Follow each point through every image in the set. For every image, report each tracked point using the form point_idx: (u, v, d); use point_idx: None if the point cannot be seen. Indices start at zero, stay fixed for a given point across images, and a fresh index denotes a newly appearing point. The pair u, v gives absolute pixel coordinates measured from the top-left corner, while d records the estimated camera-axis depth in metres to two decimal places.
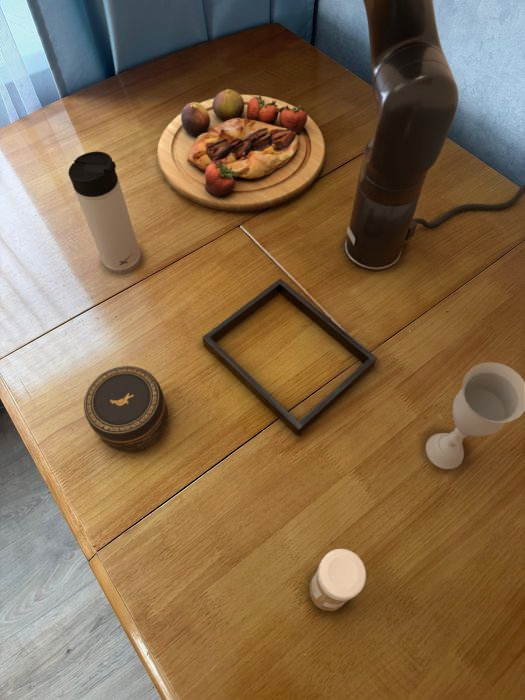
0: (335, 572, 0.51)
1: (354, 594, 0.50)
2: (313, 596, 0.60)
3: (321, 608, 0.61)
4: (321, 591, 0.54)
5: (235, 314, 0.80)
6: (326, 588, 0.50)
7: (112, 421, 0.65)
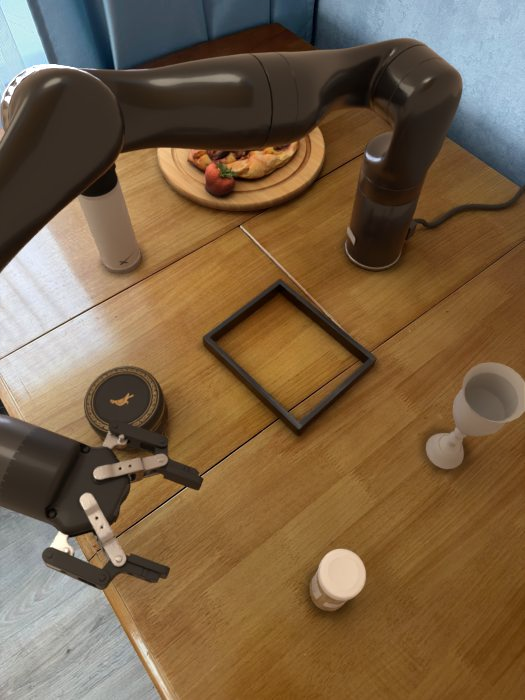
0: (335, 572, 0.51)
1: (354, 594, 0.50)
2: (313, 596, 0.60)
3: (321, 608, 0.61)
4: (321, 591, 0.54)
5: (235, 314, 0.80)
6: (326, 588, 0.50)
7: None
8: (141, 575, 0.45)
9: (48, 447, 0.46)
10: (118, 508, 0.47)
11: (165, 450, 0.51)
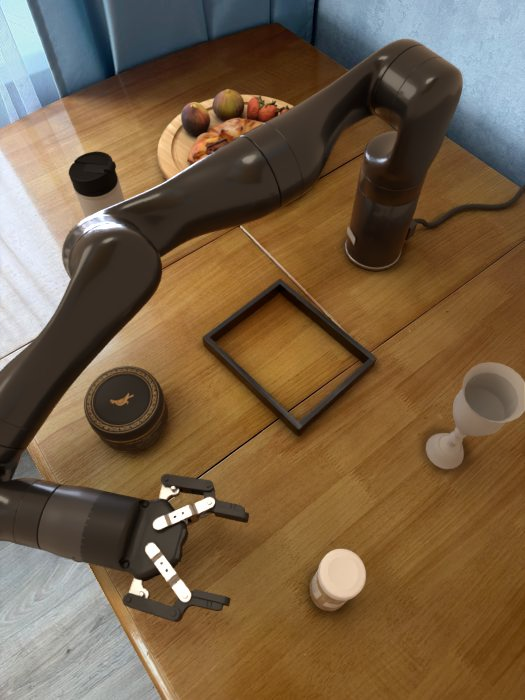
0: (335, 572, 0.51)
1: (354, 594, 0.50)
2: (313, 596, 0.60)
3: (321, 608, 0.61)
4: (321, 591, 0.54)
5: (235, 314, 0.80)
6: (326, 588, 0.50)
7: (112, 421, 0.65)
8: (206, 607, 0.53)
9: (112, 510, 0.55)
10: (179, 551, 0.55)
11: (212, 492, 0.59)
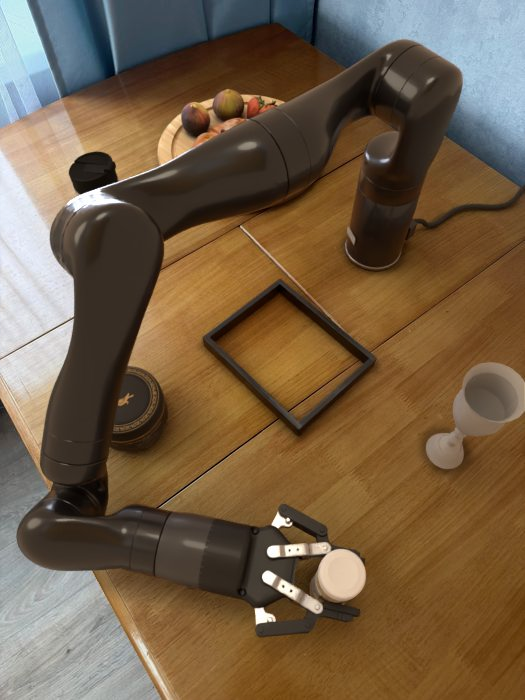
0: (335, 573, 0.51)
1: (354, 594, 0.50)
2: (313, 596, 0.60)
3: None
4: (321, 591, 0.54)
5: (235, 314, 0.80)
6: (326, 588, 0.50)
7: None
8: (338, 618, 0.54)
9: (228, 538, 0.55)
10: (294, 579, 0.55)
11: (326, 537, 0.58)
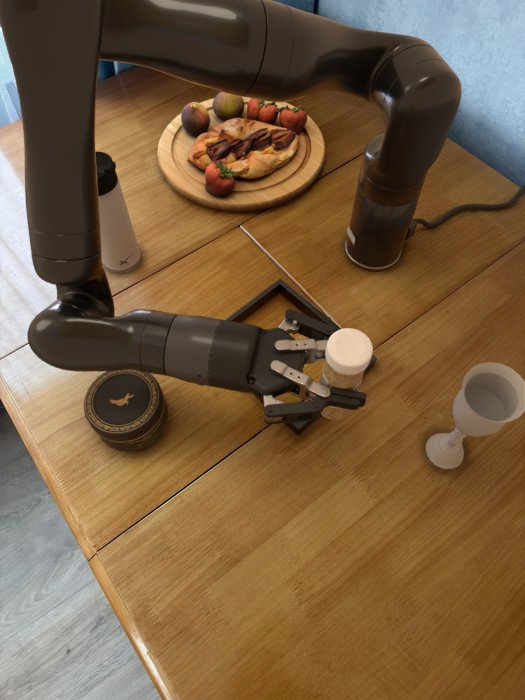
0: (342, 346, 0.52)
1: (361, 363, 0.51)
2: None
3: (327, 417, 0.62)
4: (328, 377, 0.55)
5: (235, 314, 0.80)
6: (334, 359, 0.51)
7: (112, 421, 0.65)
8: (345, 402, 0.55)
9: (236, 329, 0.56)
10: (301, 370, 0.56)
11: None
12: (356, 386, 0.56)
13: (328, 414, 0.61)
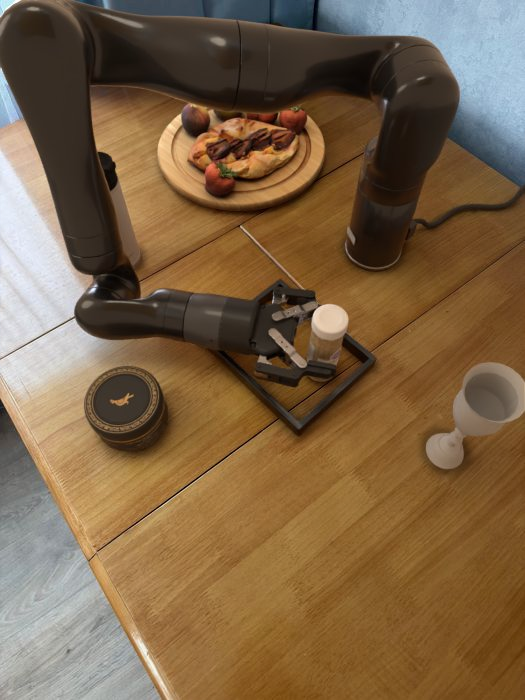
0: (324, 317, 0.66)
1: (339, 330, 0.65)
2: None
3: (314, 379, 0.76)
4: (314, 343, 0.69)
5: None
6: (318, 327, 0.66)
7: (112, 421, 0.65)
8: (319, 372, 0.68)
9: (241, 303, 0.70)
10: (293, 336, 0.70)
11: (314, 299, 0.74)
12: (336, 351, 0.70)
13: (315, 377, 0.76)
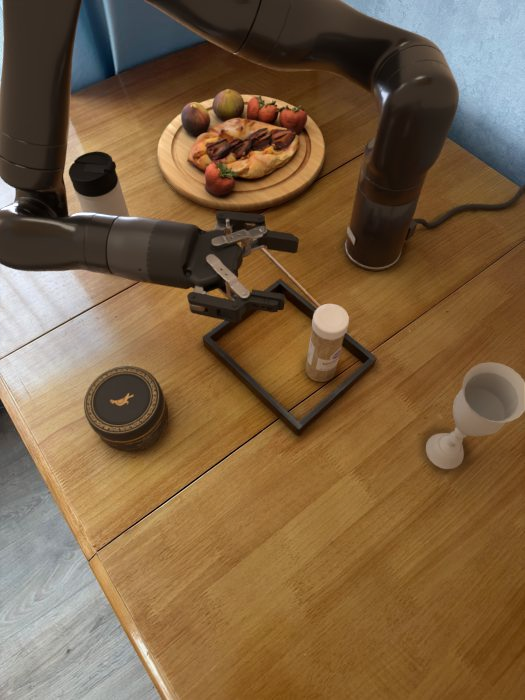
0: (325, 317, 0.66)
1: (339, 330, 0.65)
2: (308, 368, 0.76)
3: (314, 379, 0.76)
4: (314, 343, 0.69)
5: None
6: (318, 326, 0.66)
7: (112, 421, 0.65)
8: (264, 303, 0.57)
9: (174, 225, 0.59)
10: (236, 264, 0.60)
11: (264, 225, 0.63)
12: (336, 351, 0.70)
13: (315, 377, 0.76)
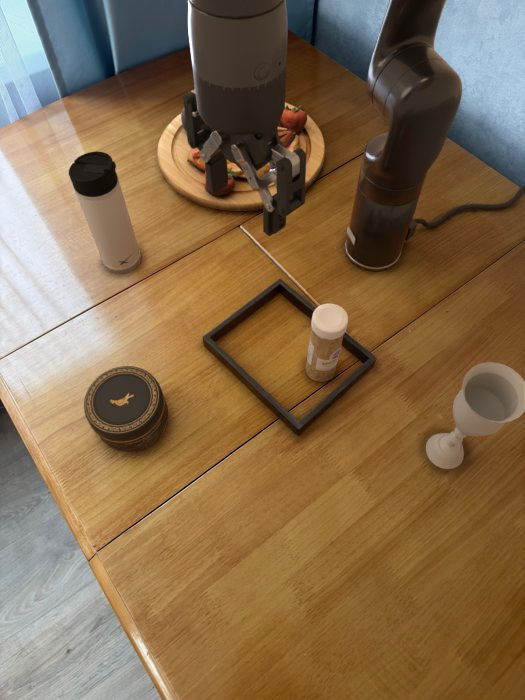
0: (324, 316, 0.66)
1: (338, 330, 0.65)
2: (308, 368, 0.76)
3: (314, 379, 0.76)
4: (314, 342, 0.69)
5: (235, 314, 0.80)
6: (317, 326, 0.66)
7: (112, 421, 0.65)
8: (285, 217, 0.52)
9: None
10: None
11: None
12: (336, 351, 0.70)
13: (315, 376, 0.76)
